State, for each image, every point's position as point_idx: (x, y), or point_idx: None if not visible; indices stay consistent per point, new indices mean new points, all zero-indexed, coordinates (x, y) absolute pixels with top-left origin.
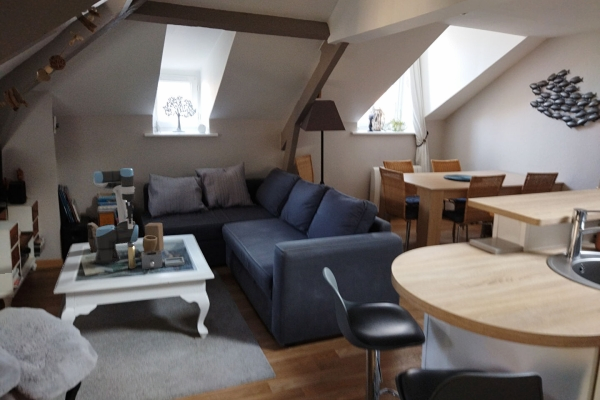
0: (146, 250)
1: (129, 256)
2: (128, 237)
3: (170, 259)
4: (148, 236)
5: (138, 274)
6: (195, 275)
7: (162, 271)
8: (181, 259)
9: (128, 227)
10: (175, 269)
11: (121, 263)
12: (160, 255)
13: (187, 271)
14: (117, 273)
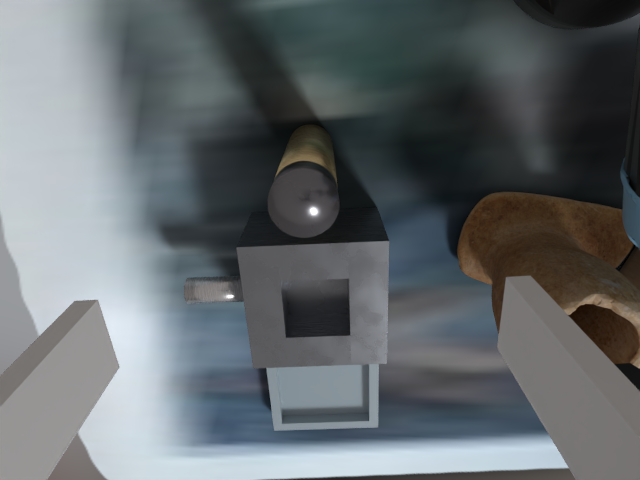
0: (501, 260)
1: (285, 152)
2: (637, 156)
3: (368, 366)
4: (636, 333)
5: (146, 193)
6: (94, 446)
7: (183, 318)
8: (358, 412)
9: (60, 324)
10: (207, 376)
11: (445, 56)
12: (253, 361)
13: (162, 421)
14: (191, 49)
